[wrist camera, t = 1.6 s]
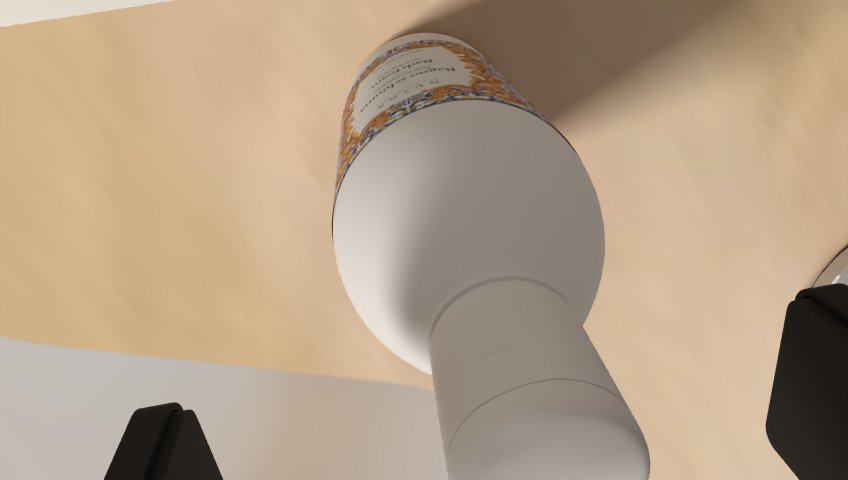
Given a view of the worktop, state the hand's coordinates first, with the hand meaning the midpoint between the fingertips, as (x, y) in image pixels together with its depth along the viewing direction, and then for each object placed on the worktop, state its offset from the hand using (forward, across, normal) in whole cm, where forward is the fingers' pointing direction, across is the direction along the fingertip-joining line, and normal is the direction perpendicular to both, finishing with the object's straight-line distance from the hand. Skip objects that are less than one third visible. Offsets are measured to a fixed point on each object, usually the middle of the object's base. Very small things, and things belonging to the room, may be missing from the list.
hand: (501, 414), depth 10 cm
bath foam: (+19, -1, 0) cm, 19 cm away
